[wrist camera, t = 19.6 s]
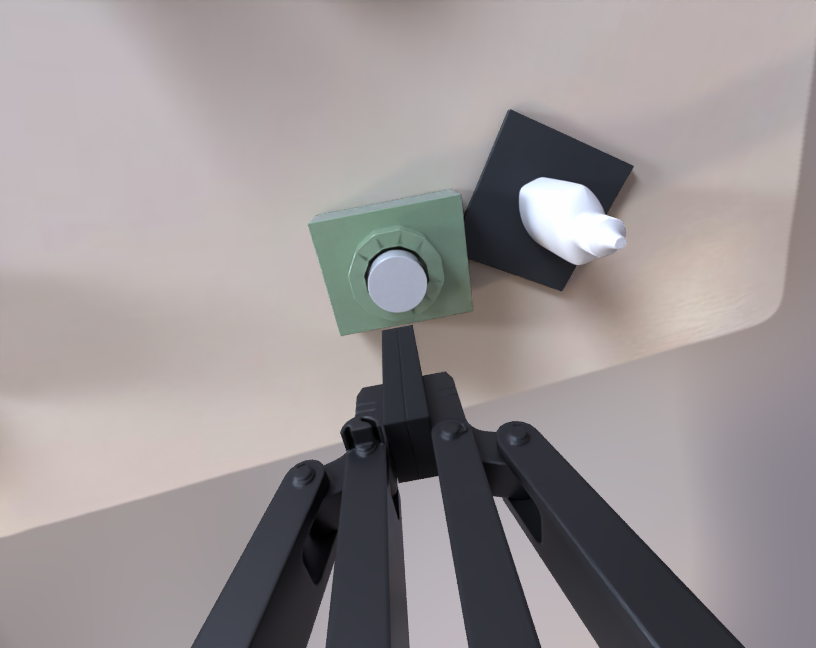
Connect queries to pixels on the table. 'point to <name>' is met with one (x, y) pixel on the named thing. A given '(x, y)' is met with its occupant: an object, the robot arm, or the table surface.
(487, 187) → the mat
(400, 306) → the grey round button
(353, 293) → the green button base
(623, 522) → the robot arm
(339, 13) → the table surface
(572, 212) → the eye dropper bottle
